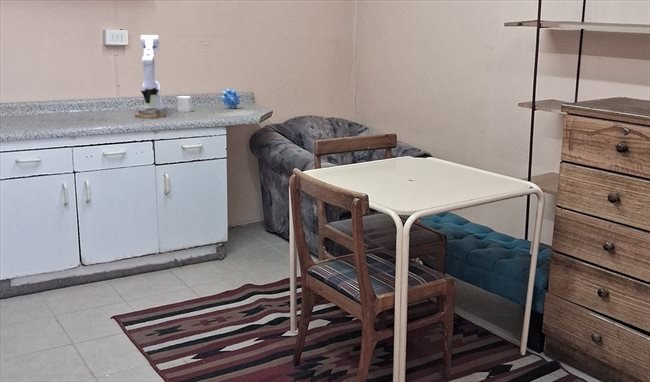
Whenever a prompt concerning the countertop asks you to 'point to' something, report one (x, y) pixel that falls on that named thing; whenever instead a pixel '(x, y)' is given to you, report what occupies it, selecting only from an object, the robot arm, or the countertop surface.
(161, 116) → the tower base
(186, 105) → the medicine box
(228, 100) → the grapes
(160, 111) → the tower top
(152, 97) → the green block
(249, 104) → the countertop surface
